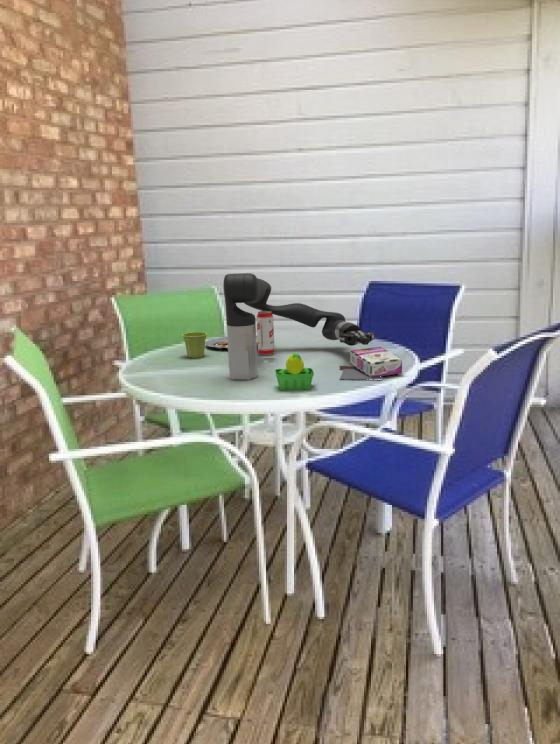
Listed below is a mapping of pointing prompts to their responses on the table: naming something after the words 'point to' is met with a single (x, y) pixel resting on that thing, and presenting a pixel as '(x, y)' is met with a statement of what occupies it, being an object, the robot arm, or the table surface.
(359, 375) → the mat
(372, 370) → the candy bar box
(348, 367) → the strip
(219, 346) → the food plate
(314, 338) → the table surface
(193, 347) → the plant pot
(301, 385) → the fruit basket
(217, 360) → the table surface
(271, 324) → the beer can
